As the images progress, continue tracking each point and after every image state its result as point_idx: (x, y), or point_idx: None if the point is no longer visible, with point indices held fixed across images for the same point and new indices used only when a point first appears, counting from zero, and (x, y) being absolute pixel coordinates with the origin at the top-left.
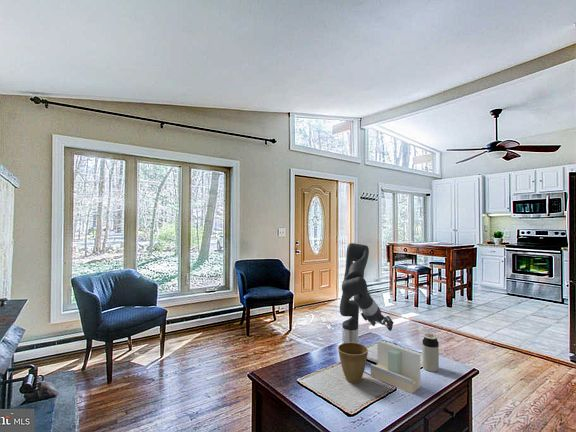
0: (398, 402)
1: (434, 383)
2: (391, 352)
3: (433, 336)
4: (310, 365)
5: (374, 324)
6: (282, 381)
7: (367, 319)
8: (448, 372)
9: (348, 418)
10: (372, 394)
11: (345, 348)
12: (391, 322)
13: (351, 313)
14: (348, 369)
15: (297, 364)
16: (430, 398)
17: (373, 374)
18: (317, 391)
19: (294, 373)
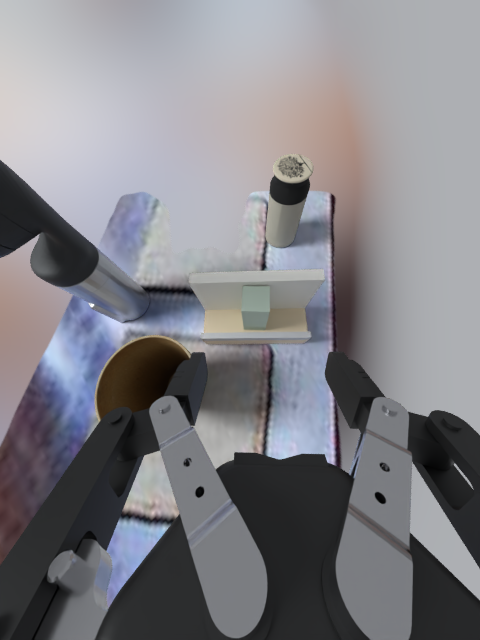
0: (302, 394)
1: None
2: (252, 311)
3: (302, 166)
4: (69, 408)
5: (205, 372)
6: None
7: (148, 445)
8: (309, 228)
9: None
10: (248, 409)
11: (119, 369)
12: (456, 444)
13: (15, 235)
14: None
15: (37, 430)
16: (335, 332)
17: (213, 343)
18: (143, 506)
19: (50, 477)
